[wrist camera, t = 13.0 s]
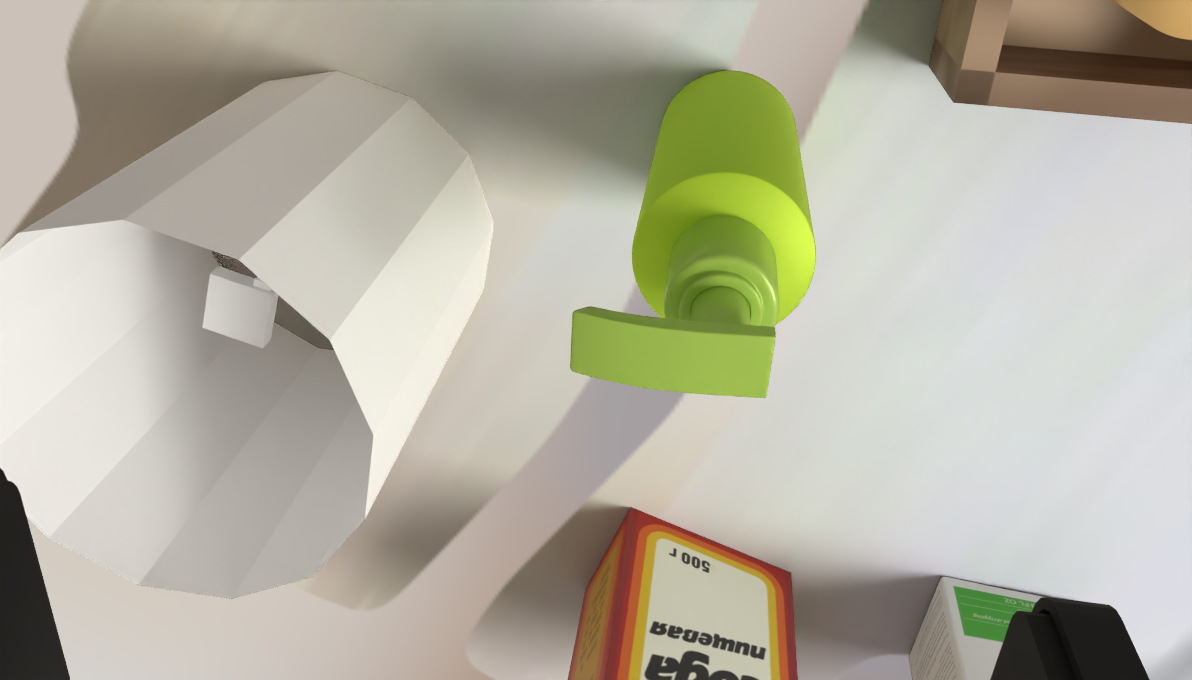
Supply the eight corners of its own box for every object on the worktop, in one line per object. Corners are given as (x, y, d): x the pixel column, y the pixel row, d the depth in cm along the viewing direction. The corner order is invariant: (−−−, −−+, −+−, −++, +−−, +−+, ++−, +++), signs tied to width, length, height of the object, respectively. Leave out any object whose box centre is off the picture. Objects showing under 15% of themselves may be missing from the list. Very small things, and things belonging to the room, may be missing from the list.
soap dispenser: (641, 62, 43) (572, 248, 26) (806, 76, 42) (851, 276, 25) (631, 193, 46) (564, 441, 28) (786, 208, 45) (814, 470, 28)
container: (530, 137, 45) (417, 321, 30) (453, 391, 52) (330, 648, 37) (220, 27, 45) (-61, 155, 29) (185, 298, 52) (-57, 520, 36)
